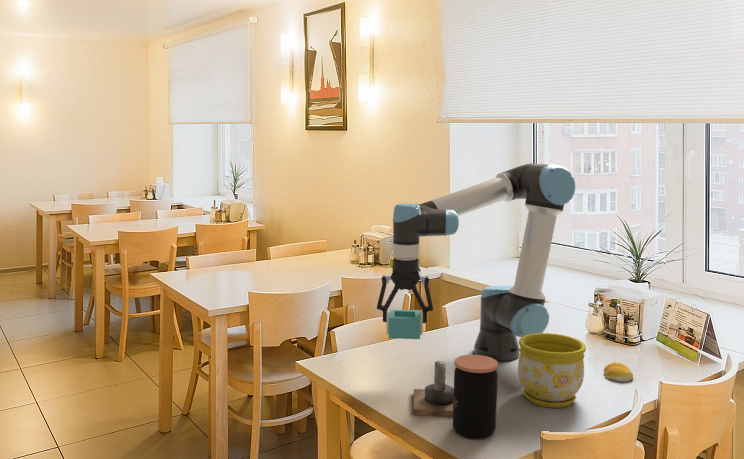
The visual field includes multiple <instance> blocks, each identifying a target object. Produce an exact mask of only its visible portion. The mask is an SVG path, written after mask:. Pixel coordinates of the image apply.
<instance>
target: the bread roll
mask: <svg viewBox="0 0 744 459" xmlns="http://www.w3.org/2000/svg"><path fill="white" fill-rule="evenodd" d="M603 373H604V375H605V378H606V379H608V380H611V379H612V381H614V380H615V382H620V381H625V382H629V381H631V380H632V379H633V378H634V374H633V372H632V370H631V369H630V368H629V367H628V366H627V365H626V364H624V363H621V362H617V361H616V362H611V363H609V364H607V365H605V366H604V368H603Z"/></svg>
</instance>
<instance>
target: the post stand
mask: <svg viewBox="0 0 744 459" xmlns="http://www.w3.org/2000/svg"><path fill="white" fill-rule="evenodd" d="M446 371H447V362H446V361H444V360H436V361H434V376H433V377H434V382H433V383H431V384H428V385H426V386H425V387H424V388H423V389H422V388H413V393H412V394H413V395H412V396H413V416H429V417H430V416H432V417H433V416H435V417H453V399H454V386H452V385H449V384H446V375H447V374H446V373H447V372H446Z"/></svg>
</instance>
